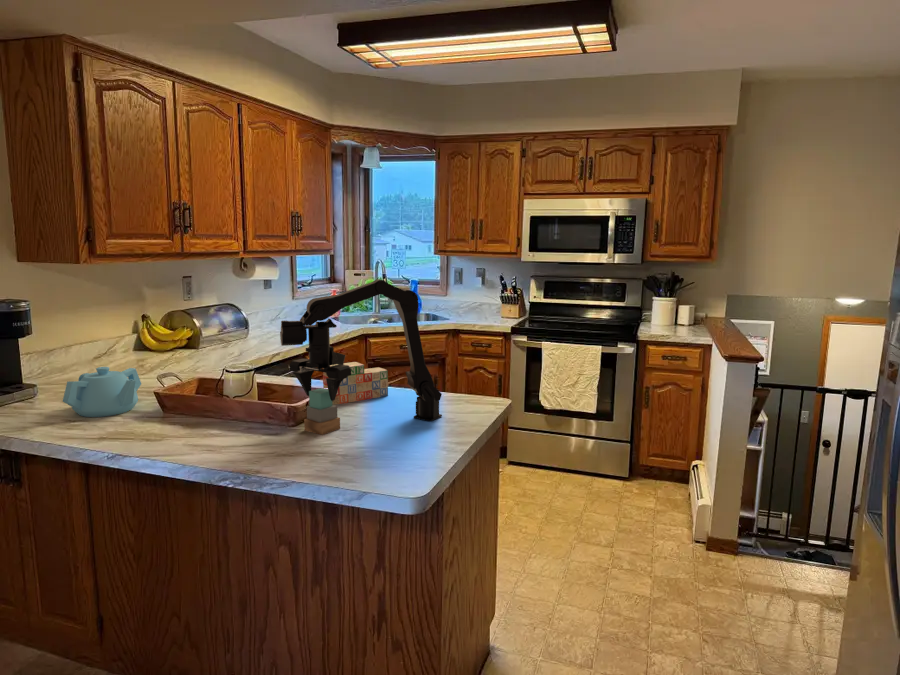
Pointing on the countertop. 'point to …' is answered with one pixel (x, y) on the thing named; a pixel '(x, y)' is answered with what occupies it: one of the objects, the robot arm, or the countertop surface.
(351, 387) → the stack of blocks
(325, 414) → the charcoal block
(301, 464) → the countertop surface
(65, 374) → the countertop surface
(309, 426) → the walnut base block
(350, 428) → the countertop surface
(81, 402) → the teapot
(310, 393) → the teal block
